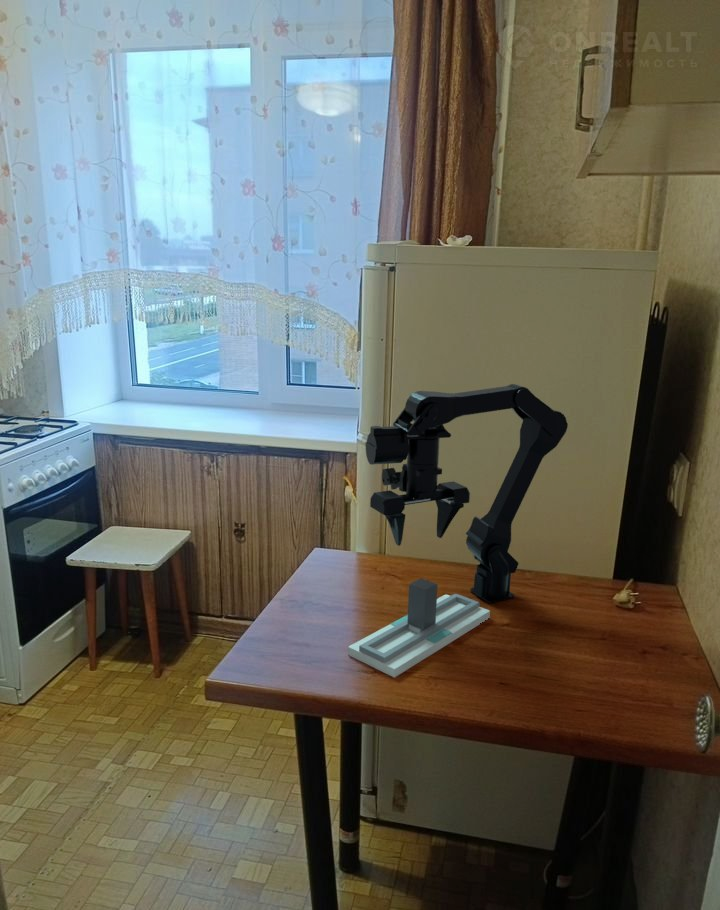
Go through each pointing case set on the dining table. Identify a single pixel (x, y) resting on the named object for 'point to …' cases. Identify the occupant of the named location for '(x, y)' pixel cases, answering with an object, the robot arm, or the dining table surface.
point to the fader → (422, 605)
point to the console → (418, 636)
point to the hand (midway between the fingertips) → (419, 541)
